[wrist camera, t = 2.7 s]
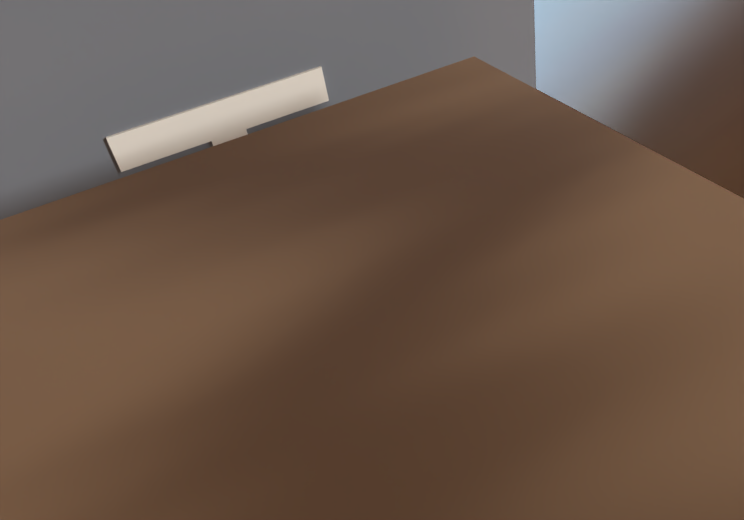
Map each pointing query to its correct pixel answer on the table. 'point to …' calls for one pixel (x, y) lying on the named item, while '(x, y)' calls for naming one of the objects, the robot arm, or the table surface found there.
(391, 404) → the walnut block
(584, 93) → the table surface
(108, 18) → the tile
